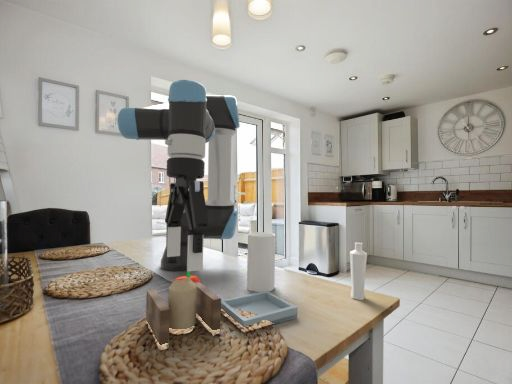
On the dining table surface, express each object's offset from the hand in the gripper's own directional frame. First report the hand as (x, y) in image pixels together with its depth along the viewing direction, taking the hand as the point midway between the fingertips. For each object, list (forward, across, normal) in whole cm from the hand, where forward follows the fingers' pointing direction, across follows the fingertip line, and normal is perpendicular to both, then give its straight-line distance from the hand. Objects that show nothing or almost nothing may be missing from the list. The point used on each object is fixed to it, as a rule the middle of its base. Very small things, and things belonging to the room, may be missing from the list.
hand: (183, 262), depth 56 cm
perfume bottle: (+13, +7, +47) cm, 50 cm away
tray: (+13, +2, +17) cm, 22 cm away
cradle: (+14, 0, 0) cm, 14 cm away
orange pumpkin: (+14, -18, +7) cm, 24 cm away
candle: (+14, 0, 0) cm, 14 cm away
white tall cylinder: (+13, -13, +28) cm, 34 cm away
